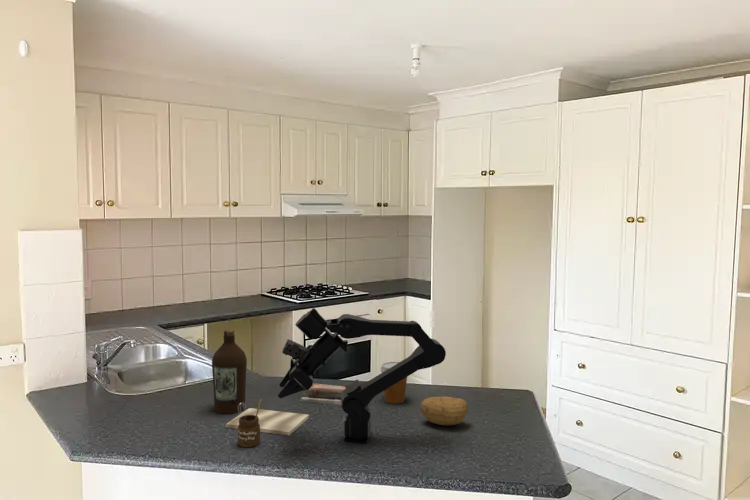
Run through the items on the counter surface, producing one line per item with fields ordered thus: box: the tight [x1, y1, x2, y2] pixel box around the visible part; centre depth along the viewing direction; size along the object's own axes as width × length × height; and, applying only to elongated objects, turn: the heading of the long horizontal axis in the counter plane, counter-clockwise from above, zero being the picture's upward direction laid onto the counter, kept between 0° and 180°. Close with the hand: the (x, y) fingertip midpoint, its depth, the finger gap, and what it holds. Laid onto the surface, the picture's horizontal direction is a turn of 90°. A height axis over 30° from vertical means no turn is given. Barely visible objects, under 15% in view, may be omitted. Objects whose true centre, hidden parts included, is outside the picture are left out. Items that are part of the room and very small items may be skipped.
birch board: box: [225, 407, 310, 436], centre depth 167 cm, size 20×14×1 cm
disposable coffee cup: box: [380, 361, 408, 405], centre depth 187 cm, size 10×10×12 cm
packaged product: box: [300, 383, 346, 406], centre depth 188 cm, size 18×5×10 cm
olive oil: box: [211, 329, 248, 415], centre depth 177 cm, size 11×11×25 cm
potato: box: [420, 396, 469, 427], centre depth 166 cm, size 10×14×8 cm
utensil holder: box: [237, 399, 262, 448], centre depth 151 cm, size 6×6×12 cm
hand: (279, 391), depth 152 cm, fingers open, 9 cm apart
